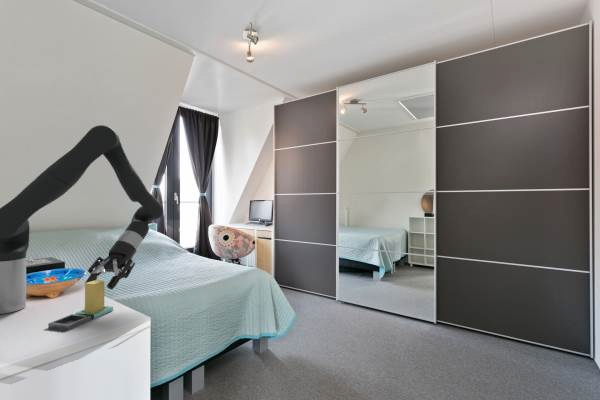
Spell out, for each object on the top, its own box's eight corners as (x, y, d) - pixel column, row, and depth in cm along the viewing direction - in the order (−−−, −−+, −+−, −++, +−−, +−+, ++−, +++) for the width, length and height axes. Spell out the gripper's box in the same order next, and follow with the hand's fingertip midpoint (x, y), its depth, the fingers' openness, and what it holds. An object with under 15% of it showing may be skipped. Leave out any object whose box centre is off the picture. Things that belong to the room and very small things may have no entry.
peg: (84, 315, 93) (84, 283, 93) (95, 310, 97) (95, 280, 97) (94, 316, 92) (94, 284, 92) (104, 311, 96) (104, 280, 96)
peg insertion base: (42, 334, 83) (42, 325, 83) (96, 311, 99) (96, 304, 99) (63, 336, 81) (63, 328, 81) (114, 313, 98) (114, 306, 98)
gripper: (103, 239, 106) (72, 279, 95) (138, 240, 103) (109, 282, 92) (115, 251, 111) (87, 291, 100) (148, 253, 108) (123, 294, 97)
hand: (98, 287), depth 96 cm, fingers open, 8 cm apart
